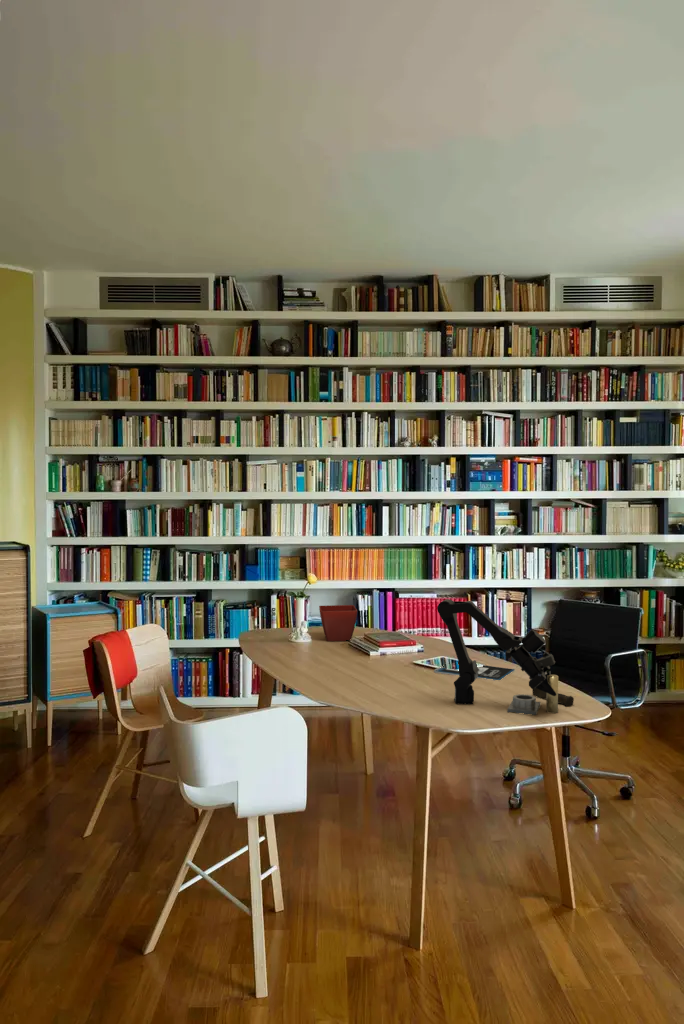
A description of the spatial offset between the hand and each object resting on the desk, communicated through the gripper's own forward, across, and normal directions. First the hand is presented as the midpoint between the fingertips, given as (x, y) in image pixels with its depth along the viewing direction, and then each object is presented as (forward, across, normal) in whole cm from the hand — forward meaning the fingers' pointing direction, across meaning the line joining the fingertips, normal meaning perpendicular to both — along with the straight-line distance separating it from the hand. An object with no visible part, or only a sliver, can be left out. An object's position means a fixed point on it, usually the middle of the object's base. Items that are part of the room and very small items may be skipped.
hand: (556, 693), depth 278 cm
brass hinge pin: (+4, 0, +6) cm, 7 cm away
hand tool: (+2, +15, +8) cm, 17 cm away
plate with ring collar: (-3, 0, +13) cm, 13 cm away
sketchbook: (-23, +51, +33) cm, 65 cm away
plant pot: (-82, +96, +91) cm, 156 cm away
